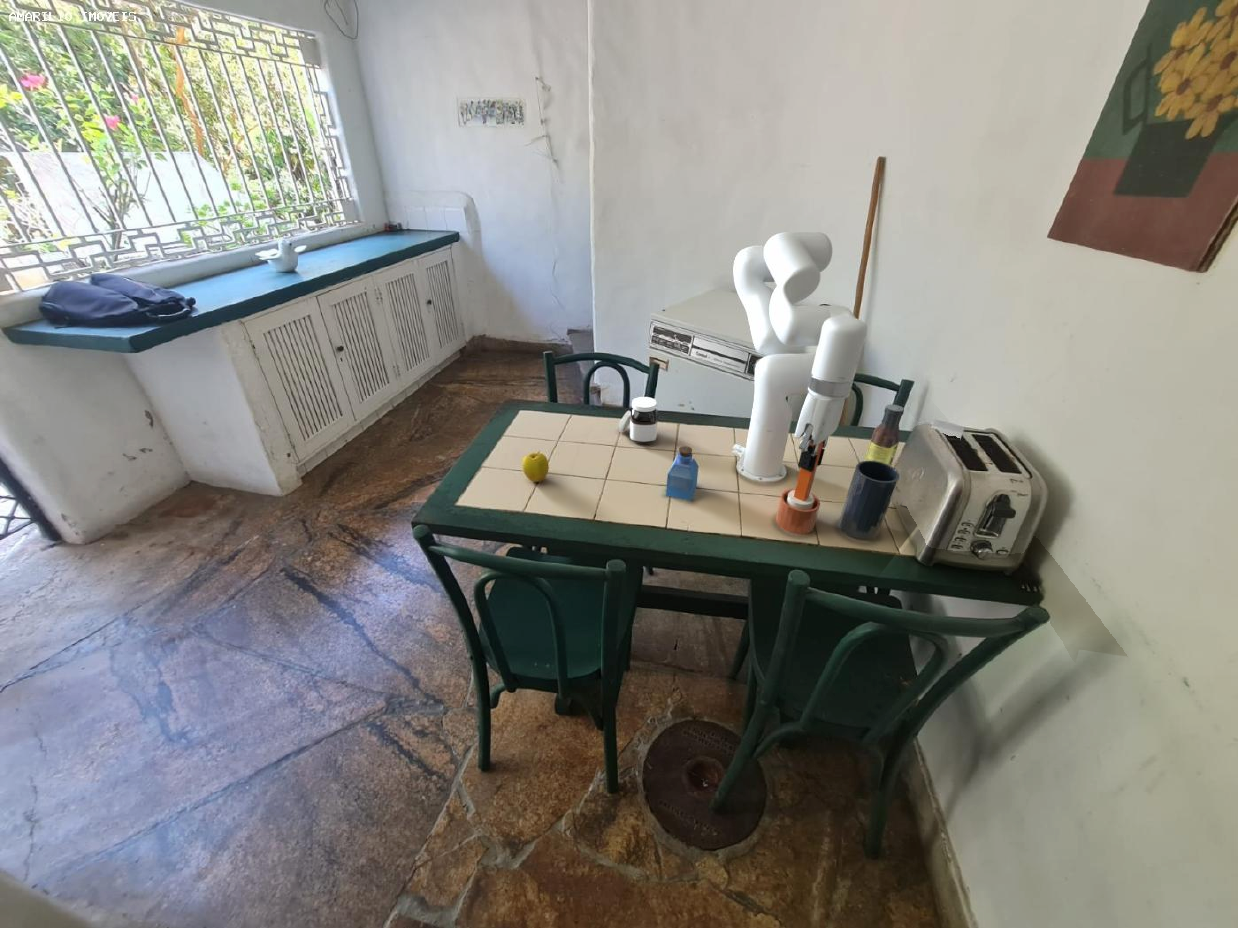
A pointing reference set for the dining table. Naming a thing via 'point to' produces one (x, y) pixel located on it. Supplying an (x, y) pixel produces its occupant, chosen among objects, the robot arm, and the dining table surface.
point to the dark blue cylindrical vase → (868, 500)
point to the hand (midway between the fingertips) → (809, 465)
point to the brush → (804, 487)
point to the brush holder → (796, 516)
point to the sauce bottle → (886, 436)
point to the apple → (535, 466)
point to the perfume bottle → (682, 475)
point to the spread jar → (641, 420)
